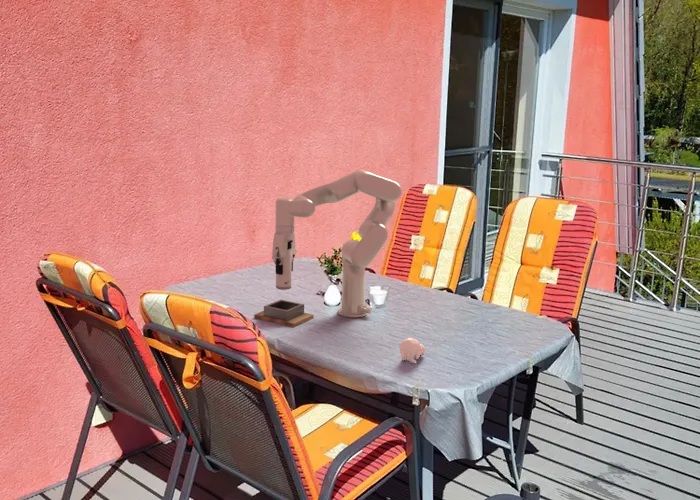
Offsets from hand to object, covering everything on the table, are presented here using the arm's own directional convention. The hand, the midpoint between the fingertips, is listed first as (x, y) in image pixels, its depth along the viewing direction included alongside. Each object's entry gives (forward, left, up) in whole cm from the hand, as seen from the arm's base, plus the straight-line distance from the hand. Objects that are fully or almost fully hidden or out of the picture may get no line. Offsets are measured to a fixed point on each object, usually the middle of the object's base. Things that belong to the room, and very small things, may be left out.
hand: (284, 272), depth 274 cm
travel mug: (0, 0, -7) cm, 7 cm away
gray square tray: (0, 0, -18) cm, 18 cm away
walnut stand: (0, 0, -20) cm, 20 cm away
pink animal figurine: (-64, +11, -20) cm, 68 cm away
